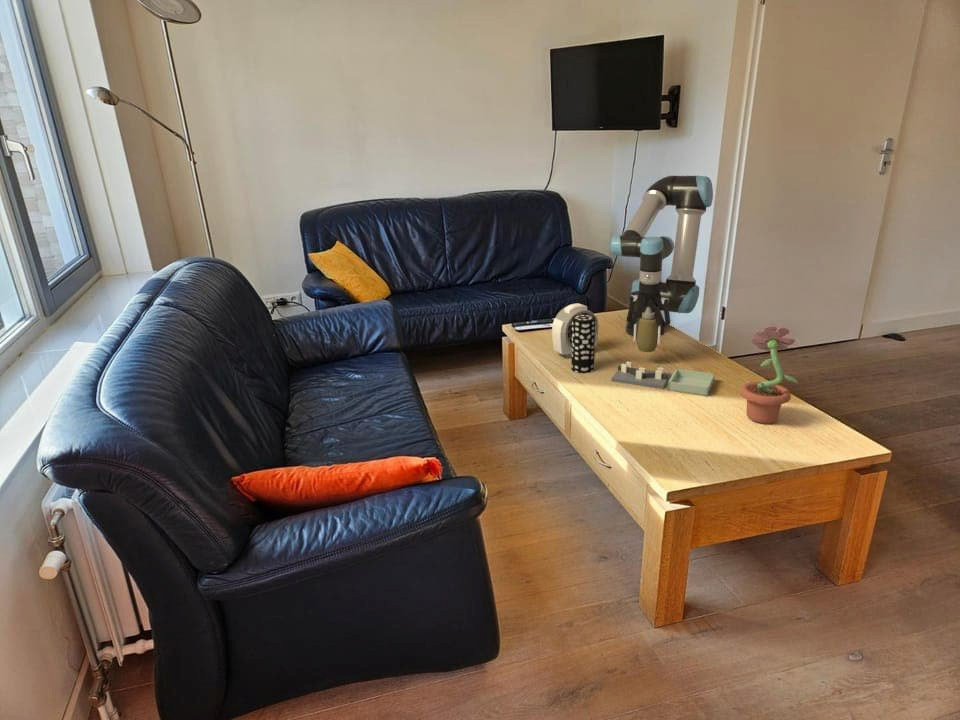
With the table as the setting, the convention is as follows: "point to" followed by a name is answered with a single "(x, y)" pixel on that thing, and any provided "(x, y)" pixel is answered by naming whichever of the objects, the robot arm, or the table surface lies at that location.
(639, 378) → the grey peg board
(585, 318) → the white-spotted black cylinder
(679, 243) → the robot arm
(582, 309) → the alarm clock
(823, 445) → the table surface
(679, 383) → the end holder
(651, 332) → the squeeze bottle
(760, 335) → the decorative flower
